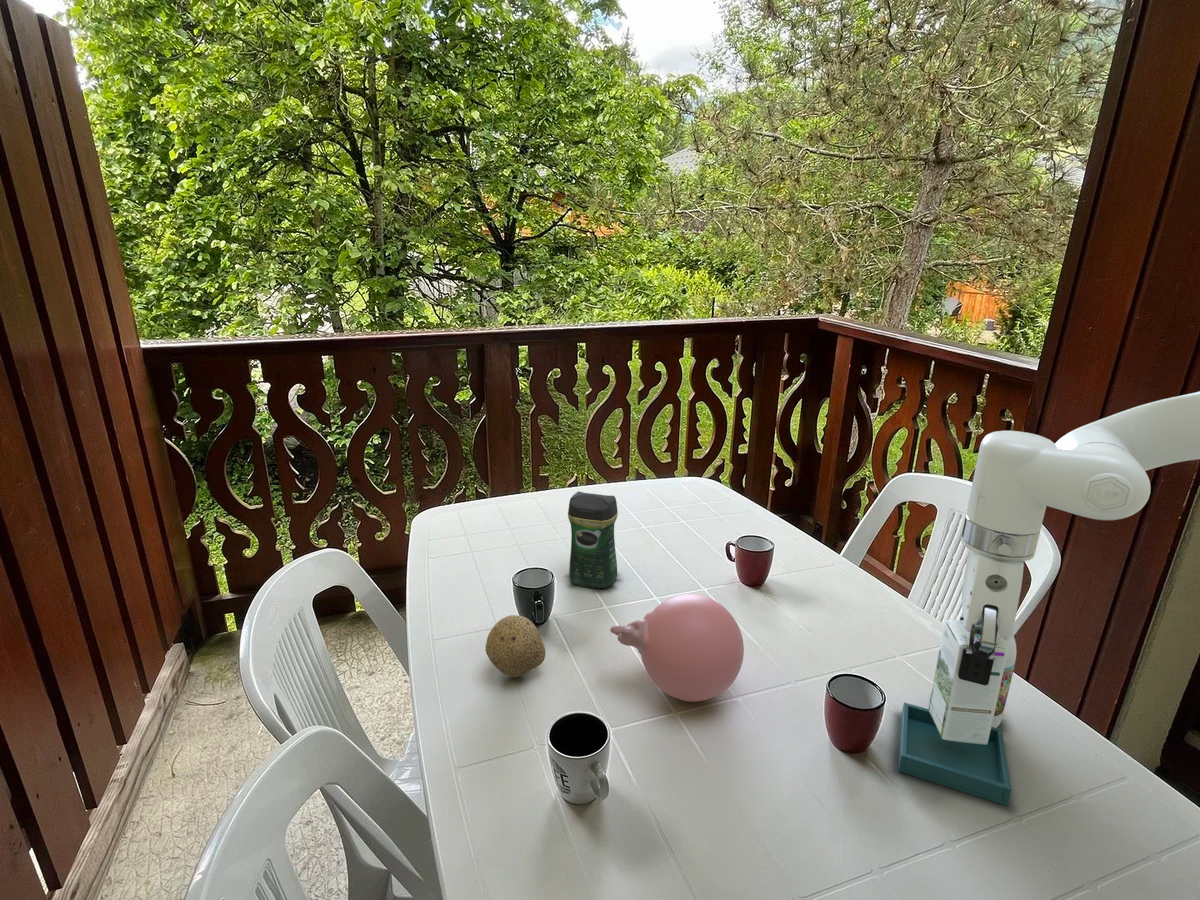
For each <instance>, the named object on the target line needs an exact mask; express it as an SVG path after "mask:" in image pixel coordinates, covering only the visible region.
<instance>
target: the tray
mask: <svg viewBox="0 0 1200 900" xmlns="http://www.w3.org/2000/svg"><path fill="white" fill-rule="evenodd" d="M928 709H929V708H926V707H922V706H918V705H916V704H913V703H912V704H911V703H908V702H903V706H902V711H901V716H900V733H899V752H898V753H899V754H898V772H899V773H903V774H906V775H908V776H913V777H914V778H915V777H916V778H918V779H922V780H925V781H929V782H931V783H934V784H938V785H940V786H943V787H947V788H950V789H952V790H956V791H959V792H962V793H966V794H968V795H972V796H975V797H977V798H981V799H984V800H987V801H990V802H993V803H996V804H999V805H1003V806H1006V807H1007V806H1008V804H1009V800H1010V797H1011V792H1012V785H1011V779H1010V773H1009V772H1010V771H1009V768H1008V767H1009V766H1008V761H1007V753H1006V748H1005V747H1006V746H1005V741H1004V734H1003V730H1002V729H1001V728H998V727H997V728H994V727H991V731H990V735H989V740H988V744H987V745H985V744H975V743H965V742H957V741H950V740H944V739H942V738H941V736H940V734H939V732H938V730H937V727H936V725H935V723H934V721H933V719H932V717H931V715H930V713H929V710H928Z"/></svg>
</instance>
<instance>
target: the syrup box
mask: <svg viewBox="0 0 1200 900" xmlns="http://www.w3.org/2000/svg"><path fill="white" fill-rule="evenodd" d="M975 628H978V629H981V628H982V624H978V623H976V624H975ZM968 635H969V630H968V629H967V628H966V627H965V625H964V620H960V619H945V620H944V623H943V629H942V634H941V640H940V646H939V649H938V655H937V656H938V657H937V661H936V667H935V670H934V671H935V672H934V678H933V682H932V688H931V693H930V699H929V703H928V708H927V709H928V710H929V713H930V715H931V717H932V719H933V721H934V723H935V725H936V727H937V730H938V732H939V734H940V736H941V738H942V739H944V740H950V741H957V742H965V743H975V744H985V745H987V744H988V740H989V735H990V731H991V726H992V722H993V718H994V713H995V709H996V704H997V700H998V695H999V690H1000V686H1001V681H1002V676H1003V672H1004V667H1005V663H1006V658H1007V654H1008V648H1007V647H1006V645H1005V644H1004V643H1003V641H1002V640H1001V638H1000V637H999V636H998V634H997V639H996V647H995V654H994V662H993V667H992V671H991V675H990V679H989V684H988V685H981V684H977V683H973V682H969V681H965V680H962V679H960V678H959V677H958V672H959V667H960V663H961V658H962V654H963V649H967V642H968ZM980 637H981V635H980V634H975V638H974V643H975V642H976V641H979V640H980Z"/></svg>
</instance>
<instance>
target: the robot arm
mask: <svg viewBox="0 0 1200 900" xmlns="http://www.w3.org/2000/svg"><path fill="white" fill-rule="evenodd" d="M1196 460H1200V390H1199V391H1196V392H1191V393H1187V394H1182V395H1178V396H1172V397H1168V398H1163V399H1159V400H1155V401H1151V402H1148V403H1144V404H1141V405H1137V406H1134V407H1131V408H1128V409H1126V410H1123V411H1120V412H1117V413H1114V414H1112V415H1109V416H1106V417H1103V418H1100V419H1098V420H1096V421H1093V422H1089V423H1087V424H1085V425H1082V426H1080V427H1077V428H1075V429H1072V430H1071V431H1069V432H1067V433H1065V435H1063V436H1062V437H1060V438H1059V439H1058V440H1057V441H1056V442H1054V441H1052V440H1051V439H1050V438H1047V437H1045V436H1042V435H1040V434H1035V433H1031V432H1025V431H1020V430H1018V431H1017V430H996V431H992V432H989V433H988V434H986V435H985V436H984V437H983V438H982V440H981V442H980V445H979V449H978V454H977V459H976V463H975V467H974V473H973V478H972V483H971V489H970V493H969V498H968V503H967V508H966V512H965V518H964V521H963V527H962V532H961V537H960V542H961V544H962V545H963V546H964V547H965V548H967V549H968V550H969V551H968V555H967V559H966V564H965V569H964V575H963V581H962V588H961V608H962V616H960V617H959V620H964V625H965V627H966V628H967V629H968V630H969V635H968V642H967V649H963V654H962V658H961V663H960V667H959V672H958V677H959V678H960V679H962V680H965V681H969V682H973V683H977V684H981V685H988V684H989V679H990V675H991V671H992V667H993V662H994V654H995V647H996V639H997V632H998V630H999V633H1000V637H1001V638H1004V639H1005V640H1009V639H1010V638H1012V634H1013V635H1014V630H1015V629H1014V628H1015V623H1016V617H1017V612H1018V609H1019V602H1020V596H1021V593H1022V592H1021V591H1022V585H1023V576H1024V566H1025V562H1027V561H1030V560H1032V559H1033V558H1034V557H1035V554H1036V550H1037V546H1038V541H1039V539H1040V533H1041V529H1042V526H1043V522H1044V518H1045V514H1046V509H1047V507H1049V508H1053V509H1057V510H1060V511H1063V512H1067V513H1069V514H1073V515H1075V516H1080V517H1083V518H1087V519H1092V520H1098V521H1117V520H1123V519H1125V518H1129V517H1131V516H1133V515H1135V514H1137V513H1138V512H1140V511H1141V510H1142V509H1143V508H1144V507H1145V505H1146V504H1147V503H1148V501H1149V499H1150V495H1151V489H1152V487H1151V481H1150V477H1149V476H1148V474H1147V472H1146V471H1149V470H1153V469H1156V468H1160V467H1164V466H1168V465H1171V464H1176V463H1182V462H1188V461H1196ZM976 623H978V624H982V628H981V629H978V628H975V624H976ZM975 634H980V635H981V637H980V640H979V641H976V642H975V643H974V638H975Z"/></svg>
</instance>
